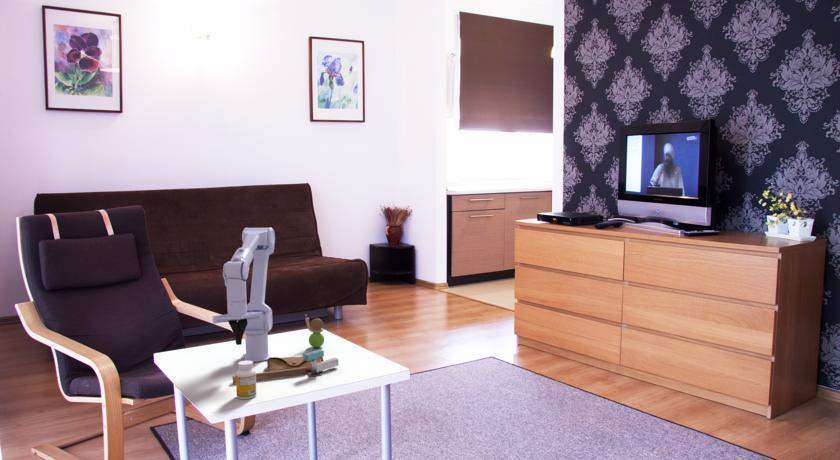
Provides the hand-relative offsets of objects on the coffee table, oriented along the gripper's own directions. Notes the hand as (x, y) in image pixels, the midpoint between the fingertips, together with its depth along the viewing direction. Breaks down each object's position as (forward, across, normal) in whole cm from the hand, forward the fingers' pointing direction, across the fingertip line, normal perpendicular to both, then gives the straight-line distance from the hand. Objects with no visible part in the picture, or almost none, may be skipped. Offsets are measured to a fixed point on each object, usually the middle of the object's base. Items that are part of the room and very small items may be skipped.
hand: (238, 344), depth 205 cm
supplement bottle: (+10, -1, -20) cm, 22 cm away
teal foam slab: (+9, +24, -8) cm, 27 cm away
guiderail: (+10, +8, -7) cm, 15 cm away
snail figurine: (+10, +29, +21) cm, 37 cm away
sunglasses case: (+11, +17, -2) cm, 20 cm away
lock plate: (+10, +21, -9) cm, 25 cm away
